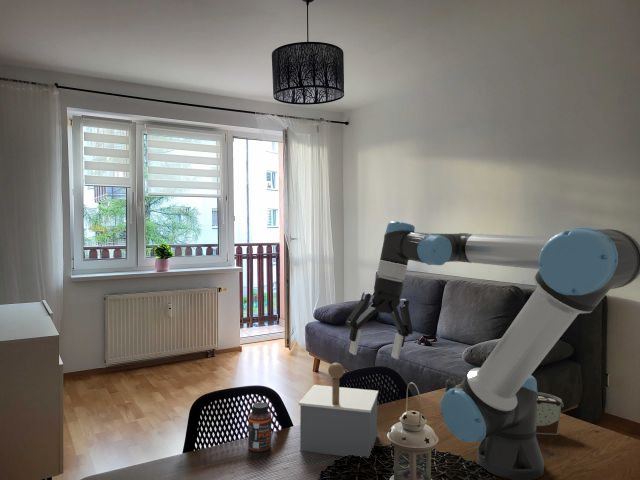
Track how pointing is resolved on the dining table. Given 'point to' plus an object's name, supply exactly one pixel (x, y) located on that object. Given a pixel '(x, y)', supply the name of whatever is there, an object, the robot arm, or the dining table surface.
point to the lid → (339, 395)
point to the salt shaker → (450, 384)
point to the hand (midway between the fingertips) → (374, 355)
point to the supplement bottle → (259, 428)
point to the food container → (548, 414)
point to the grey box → (337, 431)
